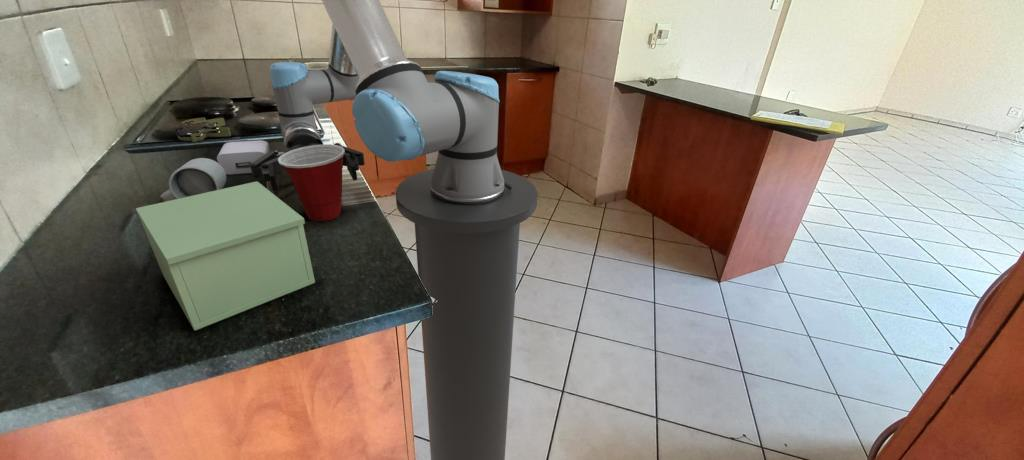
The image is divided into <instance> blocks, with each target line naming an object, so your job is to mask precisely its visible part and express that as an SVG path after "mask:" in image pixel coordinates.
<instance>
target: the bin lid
mask: <svg viewBox="0 0 1024 460" xmlns="http://www.w3.org/2000/svg"><path fill="white" fill-rule="evenodd" d="M135 211H136V213H137V216H138V215H139V216H138V218H139V217H140V218H141V220H142V222H143V223H144V225H145V227H146V228H147V230H148V232H149V233H150V235H151V237H152V238H153V240H154V242H155V243H156V245H157V247H158V248H159V250H160V252H161V253H162V255H163V257H164V258H165V260H166V262H167V263H168V265H170V264H173V263H177V262H180V261H183V260H187V259H190V258H193V257H197V256H200V255H203V254H206V253H210V252H213V251H216V250H220V249H223V248H226V247H230V246H233V245H236V244H239V243H243V242H246V241H249V240H253V239H256V238H259V237H263V236H266V235H269V234H272V233H276V232H279V231H282V230H286V229H289V228H292V227H296V226H299V225H302V224H303V225H305V224H306V221H305V218H304V217H303V216H302V215H300V214H299V213H298V212H297V211H295V210H294V208H292V207H290V206H289V205H288V204H287V203H285V202H284V201H283V200H281V199H280V198H279V197H278V196H277V195H275V194H274V193H273V192H272V191H270V190H269V189H268V188H266V187H265V186H264V185H263V184H261V183H260V182H259V181H252V182H248V183H244V184H239V185H234V186H229V187H224V188H222V189H220V190H216V191H211V192H207V193H202V194H198V195H193V196H189V197H184V198H180V199H175V200H171V201H166V202H164V201H162V202H158V203H153V204H148V205H144V206H140V207H136V208H135ZM140 218H139V219H140Z"/></svg>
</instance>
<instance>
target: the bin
mask: <svg viewBox="0 0 1024 460" xmlns="http://www.w3.org/2000/svg"><path fill="white" fill-rule="evenodd" d="M137 216H138V218H139V221H140V223H141V226H142V227H143V230H144V233H145V235H146V238H147V240H148V242H149V244H150V247H151V249H152V252H153V254H154V258H155V259H156V261H157V264H158V266H159V269H160V271H161V273H162V276H163V278H164V280H165V281H166V283H167V285H168V287H169V288H170V290H171V292H172V294H173V296H174V297H175V299H176V301H177V302H178V304H179V306H180V308H181V310H182V311H183V313H184V316H185V317H186V318H187V321H188V322H189V324H190V326H191V327H192V329H193V331H198V330H201V329H203V328H205V327H208V326H210V325H213V324H216V323H218V322H220V321H222V320H223V321H224V320H226V319H228V318H230V317H233V316H235V315H238V314H241V313H243V312H245V311H248V310H250V309H253V308H255V307H258V306H261V305H263V304H265V303H269V302H271V301H273V300H275V299H278V298H280V297H283V296H286V295H288V294H290V293H294V292H295V291H298V290H301V289H303V288H305V287H308V286H311V285H313V284H315V283H316V280H315V275H314V270H313V265H312V262H311V256H310V252H309V247H308V242H307V238H306V232H305V227H304V224H302V225H299V226H296V227H292V228H289V229H286V230H282V231H279V232H276V233H272V234H269V235H266V236H263V237H259V238H256V239H253V240H249V241H246V242H243V243H239V244H236V245H233V246H230V247H226V248H223V249H220V250H216V251H213V252H210V253H206V254H203V255H200V256H197V257H193V258H190V259H187V260H183V261H180V262H177V263H173V264H170V265H168V263H167V262H166V260H165V258H164V257H163V255H162V253H161V252H160V250H159V248H158V247H157V245H156V243H155V242H154V240H153V238H152V237H151V235H150V233H149V232H148V230H147V228H146V227H145V225H144V223H143V222H142V220H141V218H140V217H139V215H138V214H137Z"/></svg>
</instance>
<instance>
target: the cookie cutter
mask: <svg viewBox="0 0 1024 460" xmlns="http://www.w3.org/2000/svg"><path fill="white" fill-rule="evenodd" d="M190 121H194V122H191V123H190V124H196V123H202V122H209V123H213V122H217V123H218V124H216V125H217V126H218V127H216V128H219V129H208V127H212V126H209V125H208V124H209V123H207V124H205V126H206V127H207V126H208V127H207V128H203V129H201V131H200V132H199V133H194V134H191V133H190V136H191V137H180V136H178V135H177V134H176V136H177V138H178V140H179V141H184V142H192V143H197V142H199V141H203V140H205V138H207V137H208V138H209V137H210V138H214V137H215V138H216V137H217V138H219V137H221V138H223V137H231V136H232V132H231V129H230V127H225V126H226V122H225V118H224V117H217V118H211V119H206V117H197V118H196V117H195V118H190V119H186V120H183V121H181V125H182V124H183V123H185V122H190ZM183 125H187V124H183ZM183 125H182V126H183ZM191 126H192V125H191ZM203 126H204V125H203ZM204 130H209V131H217V130H218V131H220V133H205V134H203V135H202V136H200V137H196V136H199V135H201V134H202V131H204Z"/></svg>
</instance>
